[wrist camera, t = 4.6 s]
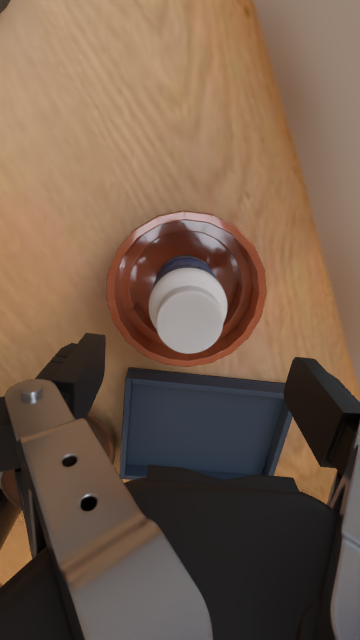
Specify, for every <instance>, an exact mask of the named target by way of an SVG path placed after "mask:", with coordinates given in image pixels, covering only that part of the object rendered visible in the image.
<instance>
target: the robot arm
mask: <svg viewBox="0 0 360 640" xmlns="http://www.w3.org/2000/svg"><path fill="white" fill-rule="evenodd" d="M105 345H106V338H105V335H100V334H91V333H86V334H85V335H84V336H83V338H82V339H81V340H80V342H79V343H78V344H75V343H71V344H69V345H67V346H65V347H63V348H61V349H60V350H59V351H58V353H57V354H56V355H55V357H53V358H52V360H51V361H50V362H49V363H48V364H47V365H46V367H45V368H44V369H43V370H42V371H41V372H40V374H39V375H38V376H37V377H36V378H35V379H32V380H26V381H23V382H20V383H17V384H15V385H14V386H12V387H11V388H9V389H8V390H7V392H6V393H5V396H4V397H0V550H1V548H2V546H3V544H4V542H5V540H6V538H7V536H8V535H9V533H10V531H11V529H12V527H13V525H14V523H15V521H16V519H17V517H18V515H19V514H20V512H21V511H22V510H23V514H24V518H25V522H26V527H27V533H28V539H29V545H30V550H31V555H32V560H31V561H30V562H29V563H28V564H26V565H25V566H24V567H23V568H22V569H21V570H20V571H19V572H17V573H16V574H15V575H14V576H13V577H12V578H11V579H10V580H9V581H7V582H6V583H5V584H4V585H3V586H2V587H1V588H0V640H360V402H359V401H358V400H357V399H356V398H355V397H354V396H353V395H351V393H350V391H349V390H348V389H347V388H345V386H344V385H343V384H342V383H341V382H340V381H339V380H338V379H337V378H335V377H334V376H332V375H331V374H329V373H328V372H326V370H325V369H324V368H323V367H322V366H321V365H320V364H319V363H318V362H317V361H316V360H315V359H310V358H301V357H295V358H294V360H293V361H292V364H291V368H290V371H289V374H288V377H287V381H286V384H285V387H284V401H285V403H286V405H287V407H288V409H289V411H290V412H291V414H292V416H293V418H294V420H295V421H296V423H297V425H298V427H299V429H300V431H301V432H302V434H303V436H304V438H305V440H306V441H307V443H308V445H309V447H310V449H311V450H312V452H313V454H314V456H315V458H316V460H317V461H318V463H319V465H320V467H330V468H336V469H337V473H336V475H335V477H334V480H333V484H332V487H331V491H330V495H329V498H328V502H327V505H326V504H325V503H323V502H321V501H320V500H318V499H316V498H314V497H312V496H310V495H307V494H305V493H303V492H300V491H299V490H298V488H297V485H296V483H295V481H294V478H290V477H279V476H268V475H253V476H246V477H240V478H233V479H227V480H222V479H218V478H215V477H212V476H209V475H205V474H202V473H199V472H196V471H193V470H190V469H187V468H181V467H170V466H159V465H148V471H147V477H143V478H138V479H134V480H131V481H128V482H126V483H124V482H123V481H122V479H121V477H120V476H119V474H118V472H117V471H116V469H115V467H114V466H113V464H112V462H111V461H110V459H109V457H108V456H107V454H106V452H105V451H104V449H103V447H102V446H101V444H100V442H99V441H98V439H97V437H96V436H95V434H94V432H93V431H92V429H91V427H90V426H89V424H88V422H87V421H86V420H85V419H86V417H87V415H88V413H89V411H90V408H91V406H92V404H93V402H94V399H95V397H96V395H97V393H98V391H99V388H100V386H101V384H102V381H103V377H104V371H105ZM9 470H13V473H14V477H15V481H16V486H17V490H18V494H19V498H20V502H21V506H22V509H20V508H18V507H17V506H15V505H14V504H12V503H11V502H10V501H9V500H8V499H7V498H6V496H5V495H4V493H3V491H2V488H1V477H2V474H3V472H4V471H9Z"/></svg>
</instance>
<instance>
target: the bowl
mask: <svg viewBox="0 0 360 640" xmlns="http://www.w3.org/2000/svg"><path fill="white" fill-rule="evenodd" d="M178 255H193V256H196V257H199V258H200V259H202V260H204V261H205V262H206V263H207V264H208V265H209V266H210V268H211V269H212V271H213V273H214V274H215V276H216V278H217V280H218V281H219V283H220V285H221V286H222V288H223V290H224V292H225V295H226V298H227V315H226V318H225V321H224V323H223V328H222V332H221V334H220V336H219V338H218V339H217V341H216V342H215V343H214V344H213V345H212V346H211V347H209V348H208V349H206V350H204V351H201V352H198V353H193V354H185V353H180V352H177V351H174V350H173V349H171V348H169V347H168V346H167V345H166V344H164V342H163V341H162V340H161V338H160V337H159V335H158V332H157V329H156V328H155V327H154V325H153V323H152V321H151V319H150V315H149V299H150V295H151V292H152V289H153V285H154V282H155V279H156V276H157V273H158V271H159V270H160V268H161V267H162V265H163V264H164V263H165V262H166V261H168V260H169V259H171V258H173V257H175V256H178ZM266 293H267V291H266V280H265V270H264V267H263V264H262V262H261V260H260V258H259V255H258V253H257V251H256V249H255V247H254V245H253V244H252V243H251V242H250V241H249V240H248V239H247V238H246V237H245V236H244V235H243V233H242V232H241V231H240V230H239V229H238V228H237V227H235V226H234V225H232V224H230V223H228V222H226V221H224V220H222V219H220V218H218V217H216V216H214V215H211V214H206V213H199V212H191V211H180V212H175V213H170V214H165V215H161V216H157V217H155V218H153V219H152V220H150V221H148V222H147V223H145V224H143V225H142V226H140V227H138V228H137V229H135V230H134V231H132V233H131V234H130V235H129V236H128V237H127V239H126V240H125V241H124V242H123V243H122V245H121V246H120V247H119V248H118V249H117V251H116V253H115V256H114V258H113V261H112V264H111V266H110V269H109V272H108V275H107V297H106V299H107V303H108V306H109V309H110V313H111V316H112V320H113V322H114V324H115V325H116V327H117V328H118V330H119V331H120V333H121V334H122V336H123V337H124V339H125V340H126V341H127V342H128V343H129V344H130V345H131V346H133V347H134V348H135V349H137V350H138V351H139V352H140V353H142V354H143V355H144V356H146V357H148V358H151V359H153V360H156V361H158V362H161V363H163V364H167V365H176V366H185V367H188V366H189V367H190V366H196V365H202V364H207V363H212V362H214V361H216V360H218V359H220V358H222V357H224V356H226V355H228V354H230V353H231V352H233V351H234V350H235V349H237V348H238V347H239V346H240V345H241V344H242V343H243V342H244V341H245V340H247V339H248V338H249V336H250V335H251V333H252V331H253V330H254V328H255V326H256V325H257V323H258V321H259V320H260V318H261V316H262V311H263V307H264V303H265V299H266V295H267V294H266Z"/></svg>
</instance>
